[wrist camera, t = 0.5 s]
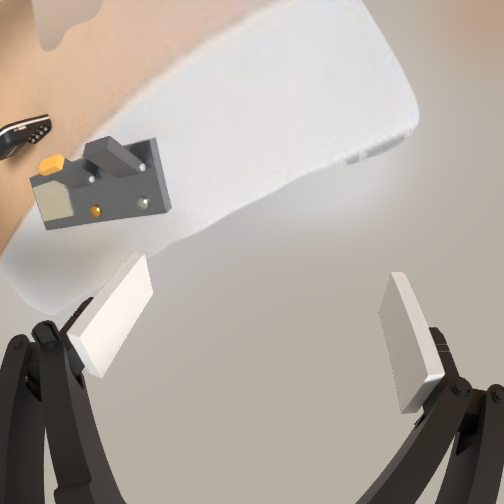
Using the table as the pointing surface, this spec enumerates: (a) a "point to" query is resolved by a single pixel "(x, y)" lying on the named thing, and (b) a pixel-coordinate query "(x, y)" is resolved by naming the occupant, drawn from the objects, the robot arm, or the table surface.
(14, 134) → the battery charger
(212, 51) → the table surface
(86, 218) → the panel
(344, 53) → the table surface
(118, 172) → the lever
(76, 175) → the lever
